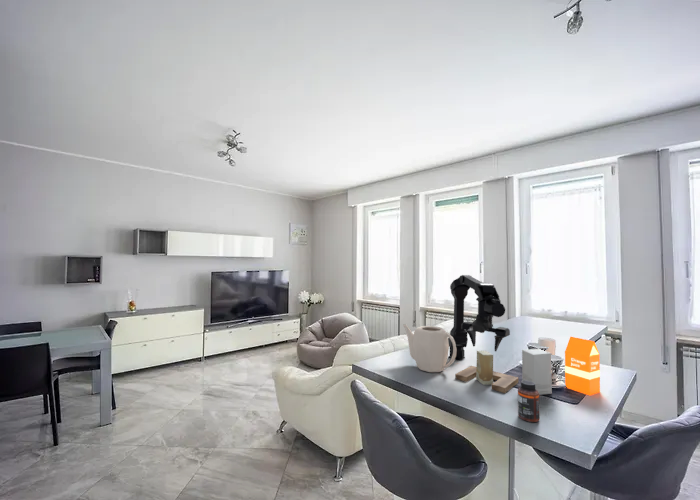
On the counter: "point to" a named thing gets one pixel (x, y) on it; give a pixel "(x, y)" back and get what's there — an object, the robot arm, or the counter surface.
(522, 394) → the supplement bottle
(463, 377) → the notched board
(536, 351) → the skincare box
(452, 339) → the watering can
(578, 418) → the counter surface
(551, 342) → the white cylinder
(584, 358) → the orange juice
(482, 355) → the skincare box
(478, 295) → the robot arm
